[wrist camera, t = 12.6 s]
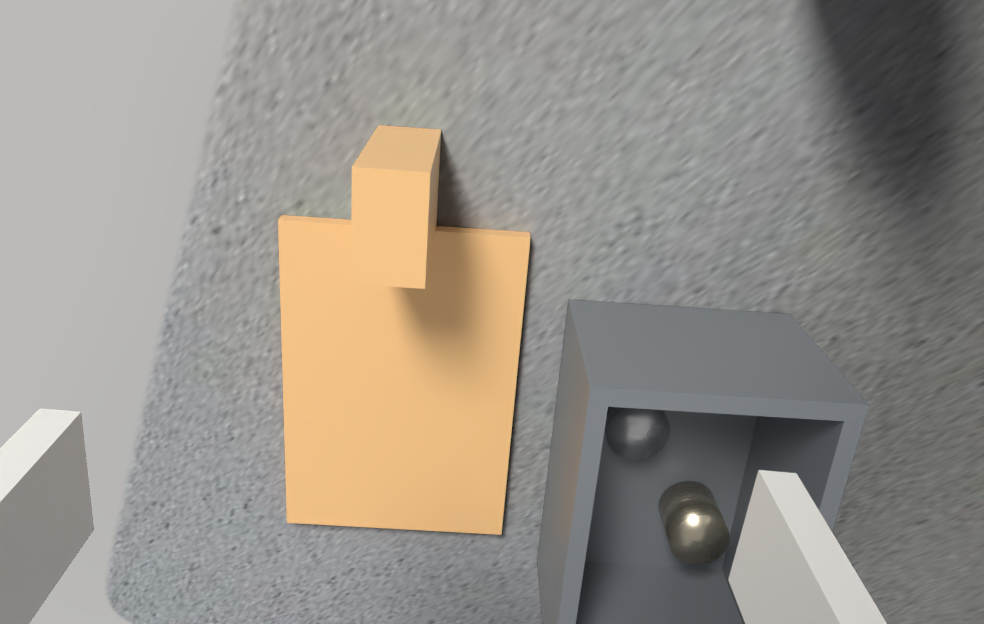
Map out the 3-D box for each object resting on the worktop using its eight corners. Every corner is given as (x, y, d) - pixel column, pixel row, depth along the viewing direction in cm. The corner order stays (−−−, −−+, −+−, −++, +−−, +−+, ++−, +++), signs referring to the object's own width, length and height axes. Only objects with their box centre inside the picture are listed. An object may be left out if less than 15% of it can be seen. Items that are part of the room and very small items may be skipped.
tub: (568, 299, 40) (590, 387, 32) (790, 314, 40) (869, 404, 32) (536, 561, 46) (548, 691, 38) (729, 571, 47) (782, 703, 38)
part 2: (662, 479, 43) (675, 514, 40) (719, 482, 43) (735, 517, 40) (654, 525, 44) (665, 562, 42) (709, 528, 44) (723, 566, 42)
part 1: (602, 373, 41) (610, 403, 38) (661, 377, 41) (674, 407, 38) (594, 425, 42) (602, 457, 39) (652, 428, 42) (664, 461, 39)
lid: (279, 117, 36) (227, 157, 29) (538, 137, 37) (552, 181, 29) (290, 513, 45) (252, 622, 38) (501, 525, 45) (504, 634, 38)
